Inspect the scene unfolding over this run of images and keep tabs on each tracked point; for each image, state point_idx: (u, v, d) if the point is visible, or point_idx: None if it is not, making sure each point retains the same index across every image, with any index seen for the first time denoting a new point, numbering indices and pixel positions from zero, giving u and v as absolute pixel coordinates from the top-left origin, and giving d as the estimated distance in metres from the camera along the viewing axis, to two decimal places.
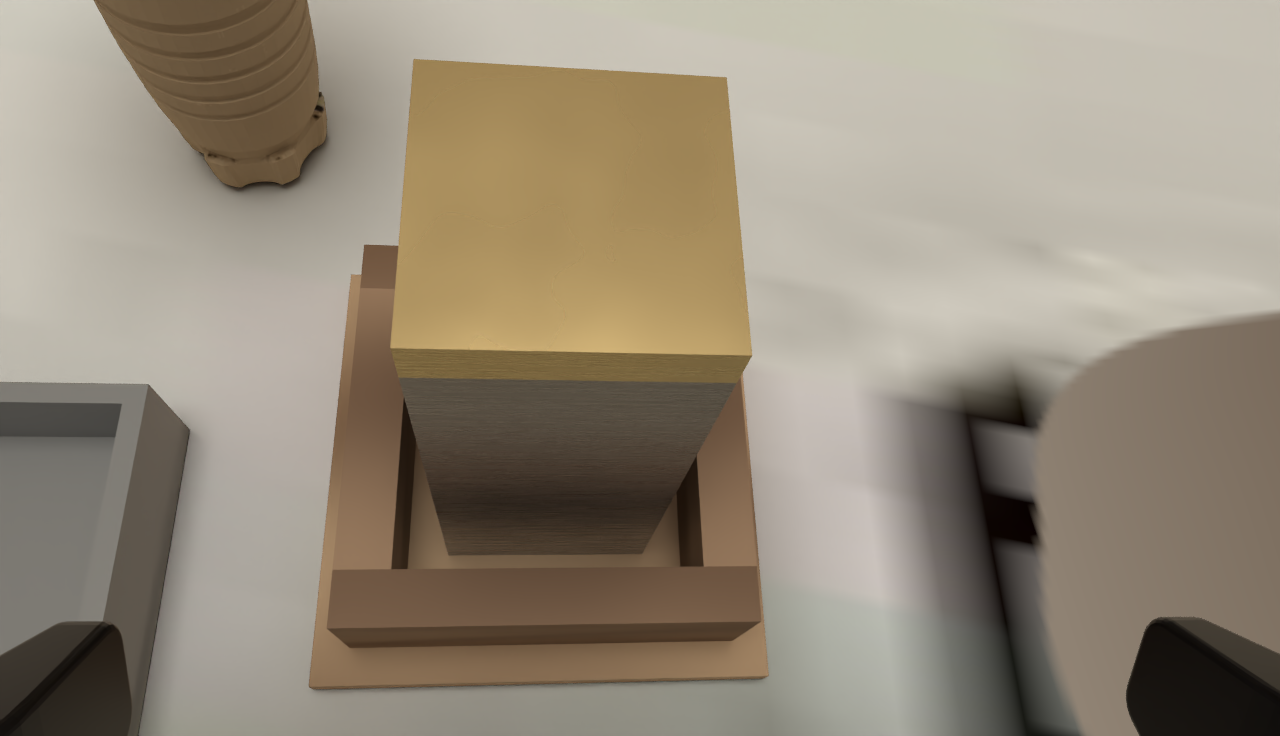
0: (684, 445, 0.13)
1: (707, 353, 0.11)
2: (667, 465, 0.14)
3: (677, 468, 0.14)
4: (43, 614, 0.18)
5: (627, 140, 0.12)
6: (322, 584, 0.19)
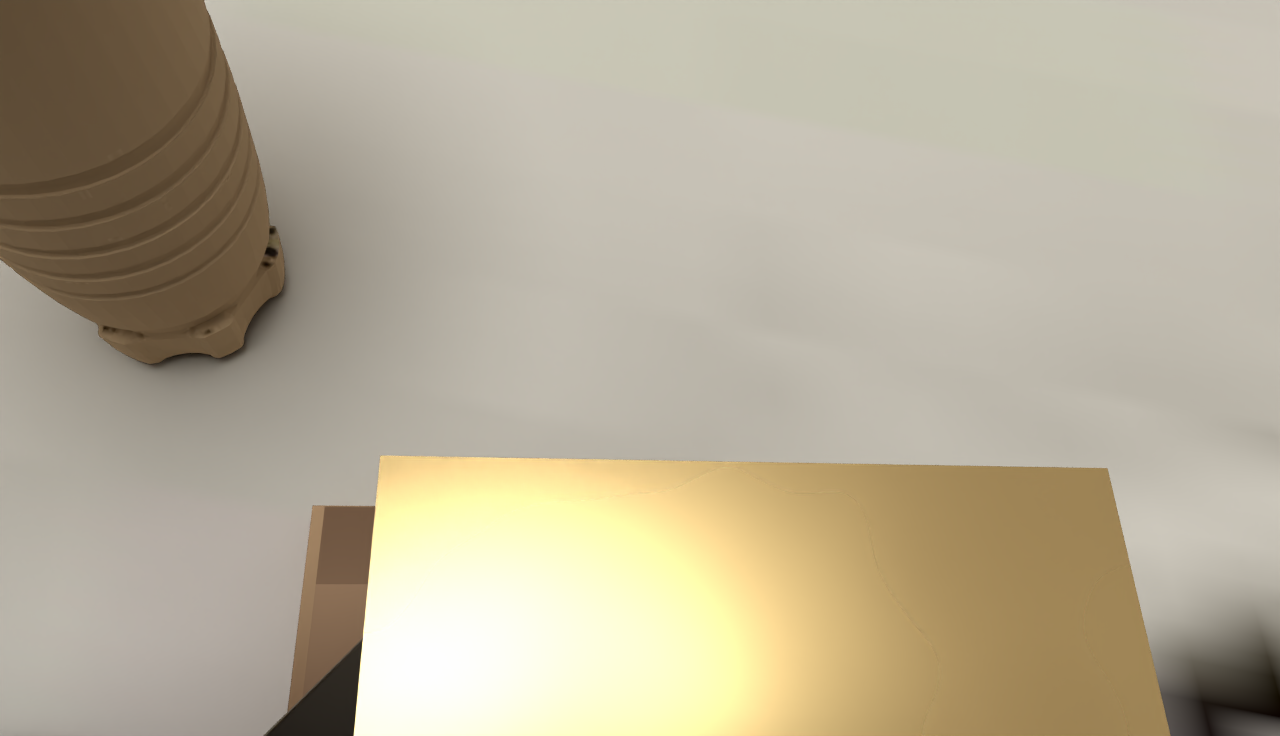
0: None
1: None
2: None
3: None
4: None
5: (907, 673, 0.05)
6: None
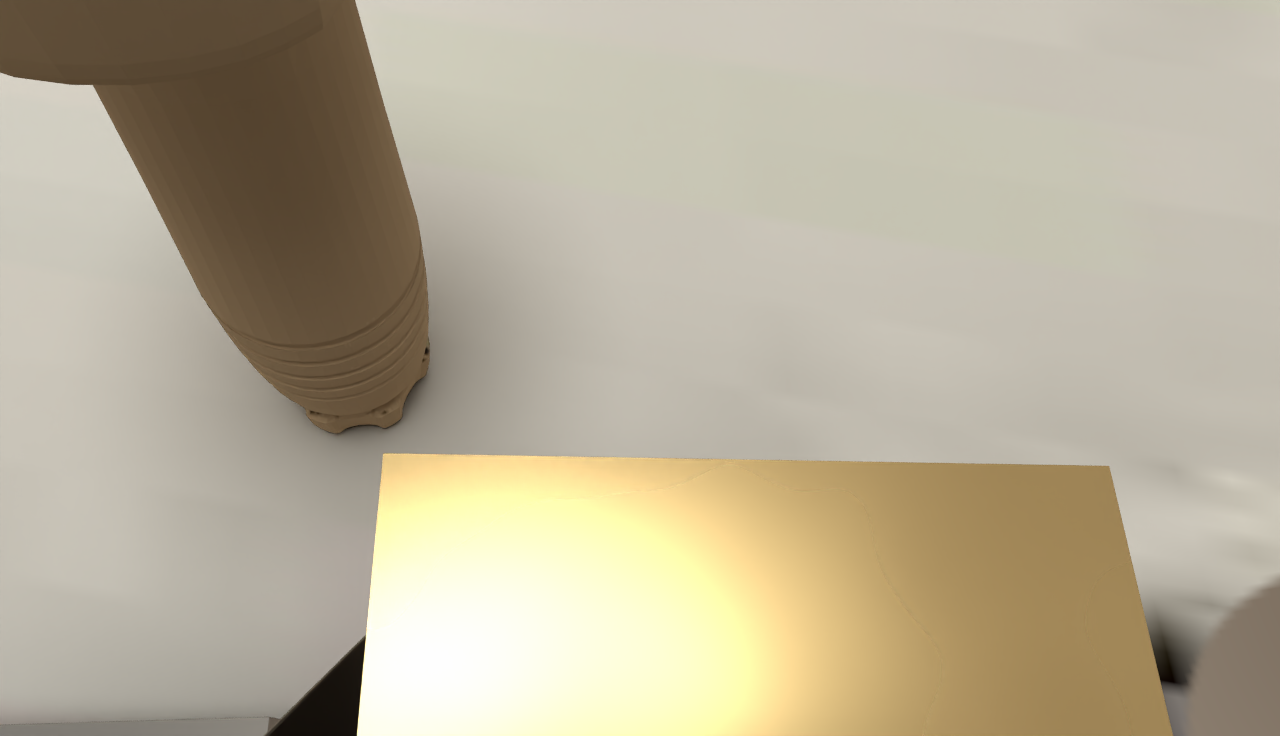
0: None
1: None
2: None
3: None
4: None
5: (909, 670, 0.05)
6: None
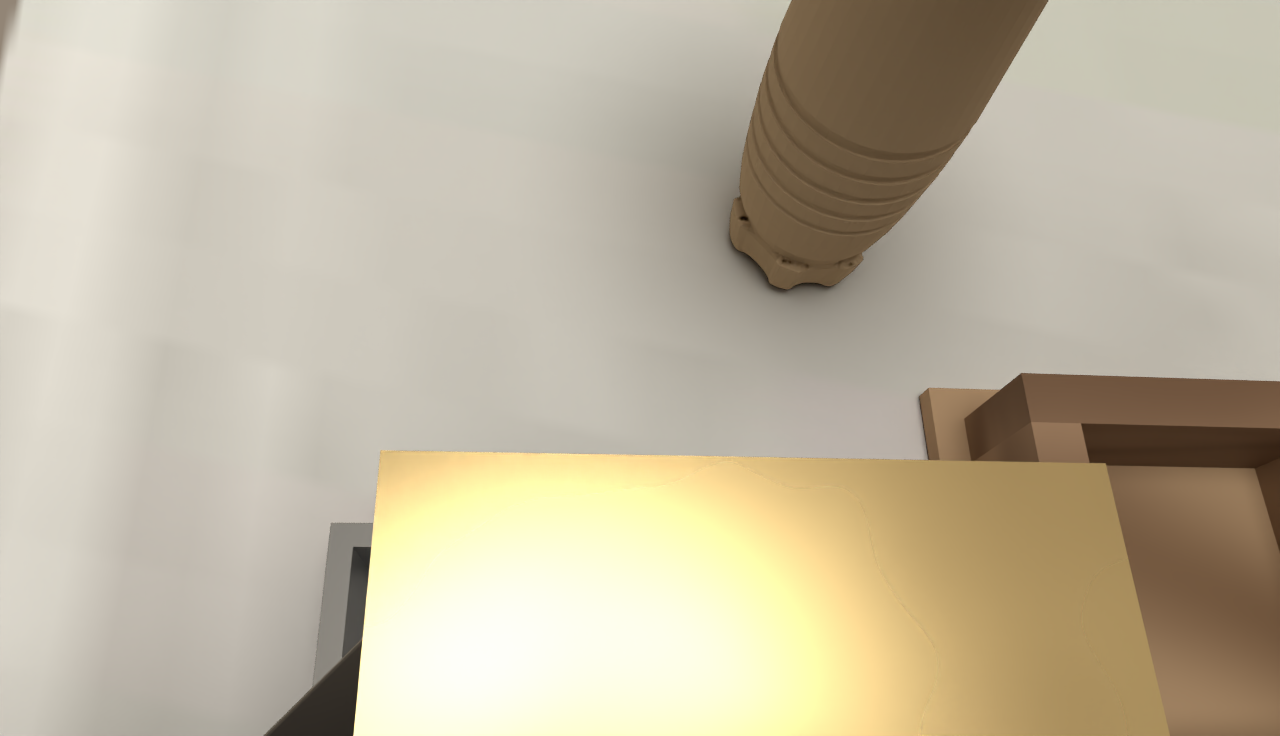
0: None
1: None
2: None
3: None
4: None
5: (906, 667, 0.05)
6: None
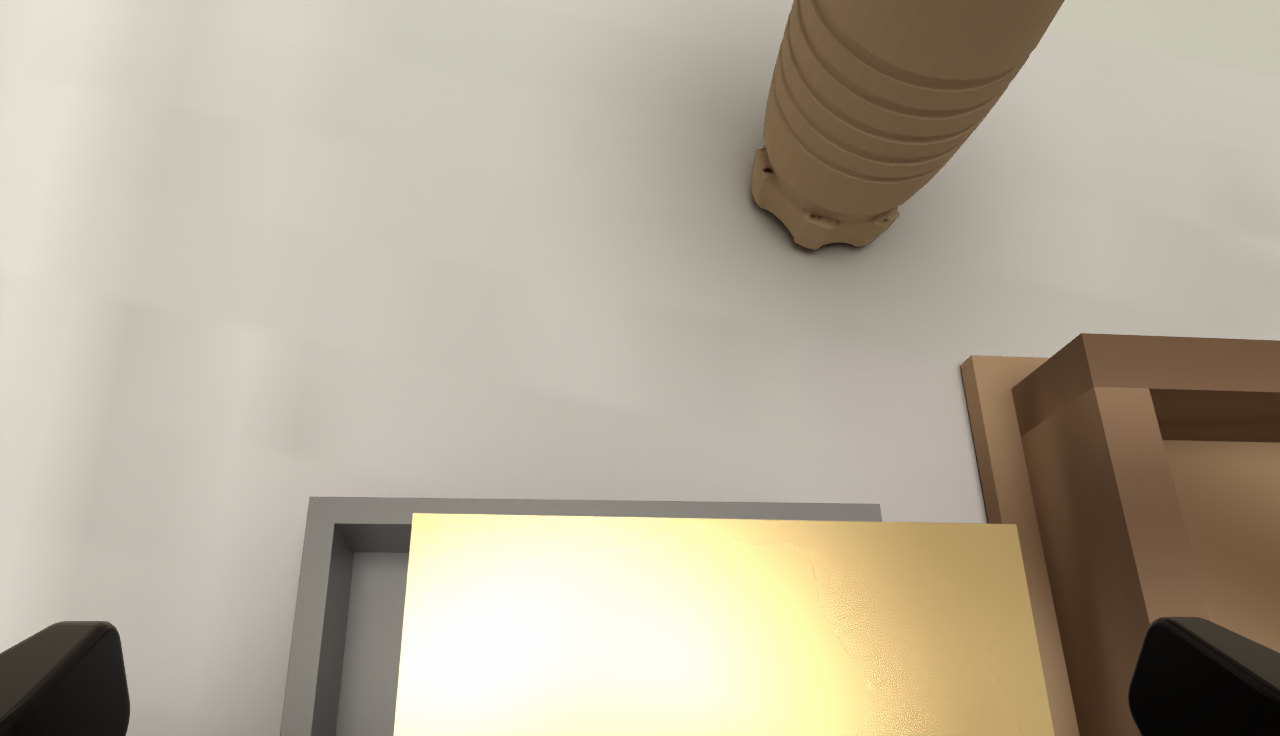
0: None
1: None
2: None
3: None
4: None
5: (841, 695, 0.06)
6: None
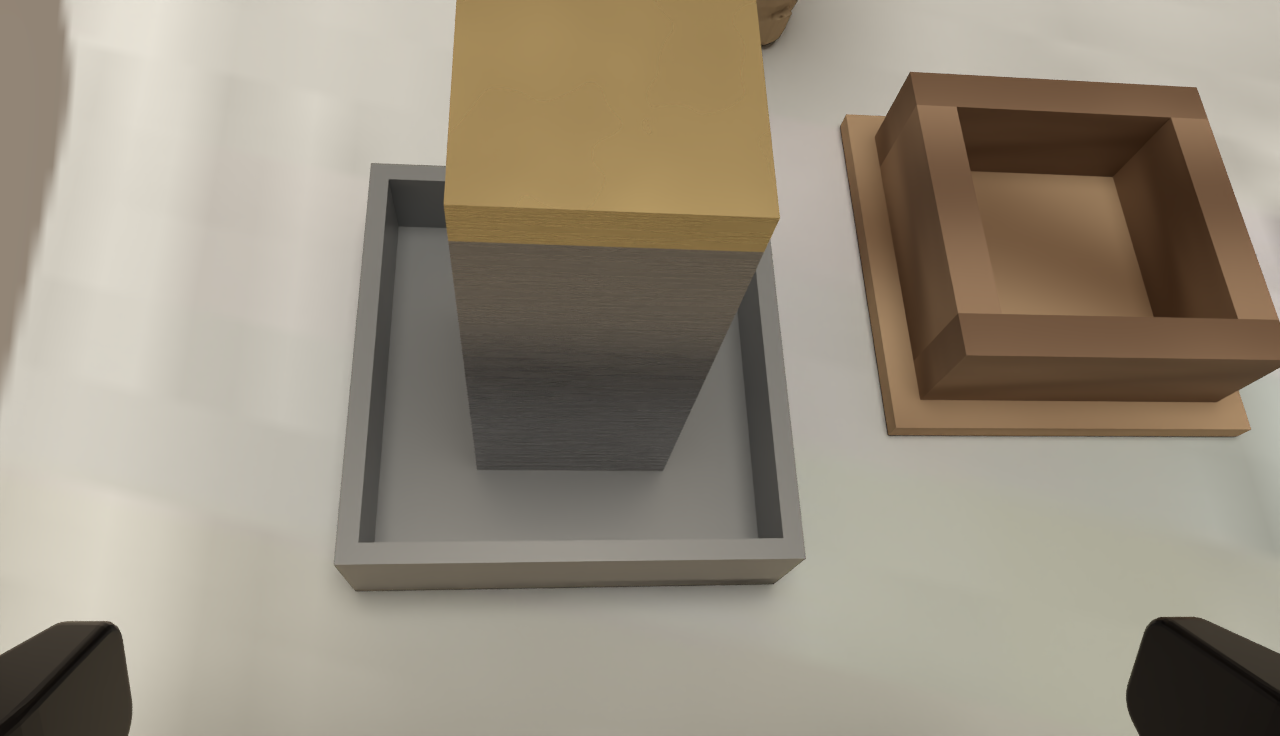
0: (711, 330, 0.14)
1: (738, 214, 0.11)
2: (693, 354, 0.15)
3: (702, 359, 0.15)
4: None
5: (660, 26, 0.12)
6: (886, 351, 0.22)
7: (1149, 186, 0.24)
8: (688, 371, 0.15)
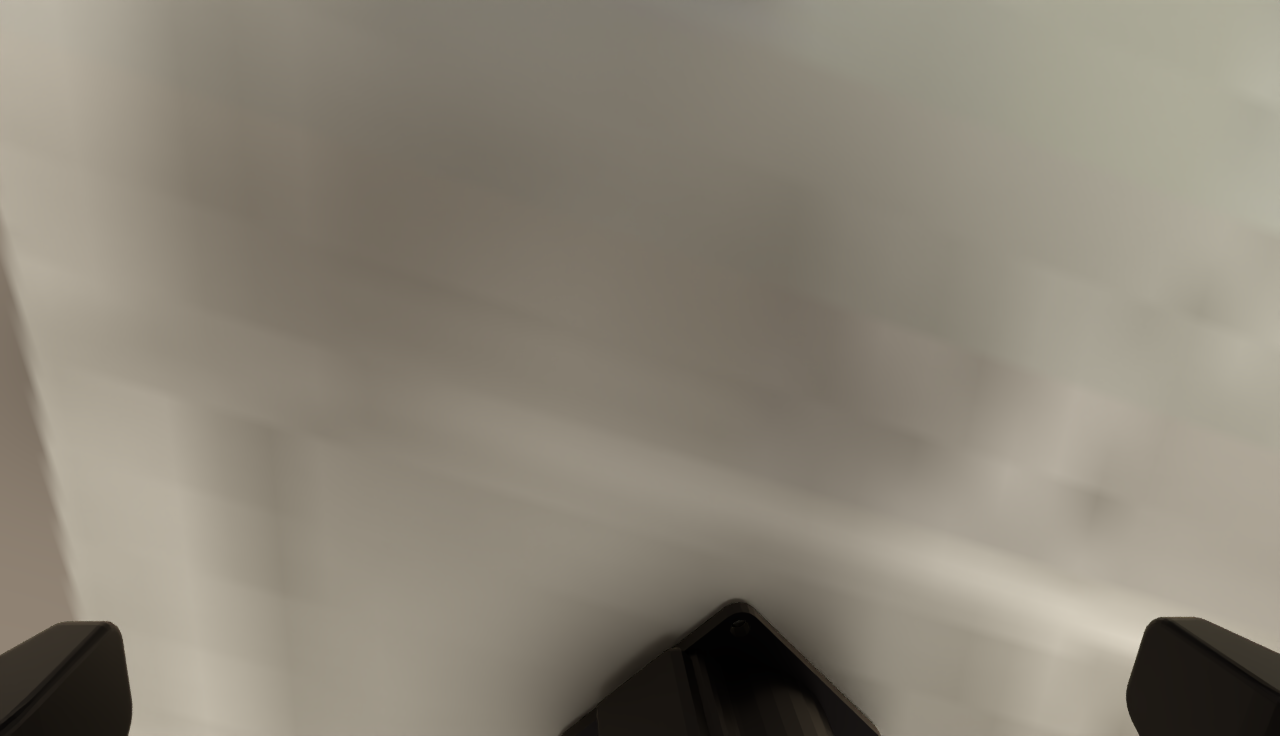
0: None
1: None
2: None
3: None
4: None
5: None
6: None
7: None
8: None
